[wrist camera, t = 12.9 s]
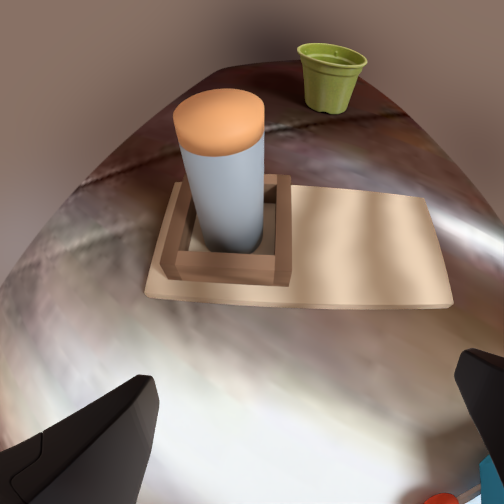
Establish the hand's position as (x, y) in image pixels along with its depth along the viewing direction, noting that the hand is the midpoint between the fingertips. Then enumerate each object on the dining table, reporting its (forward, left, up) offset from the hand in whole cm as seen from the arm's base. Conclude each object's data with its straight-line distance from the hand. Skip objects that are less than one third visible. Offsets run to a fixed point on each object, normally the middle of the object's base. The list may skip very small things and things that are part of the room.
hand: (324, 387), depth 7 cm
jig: (+12, +6, -14) cm, 19 cm away
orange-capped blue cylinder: (+9, +11, -13) cm, 19 cm away
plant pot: (+35, +17, -14) cm, 41 cm away
